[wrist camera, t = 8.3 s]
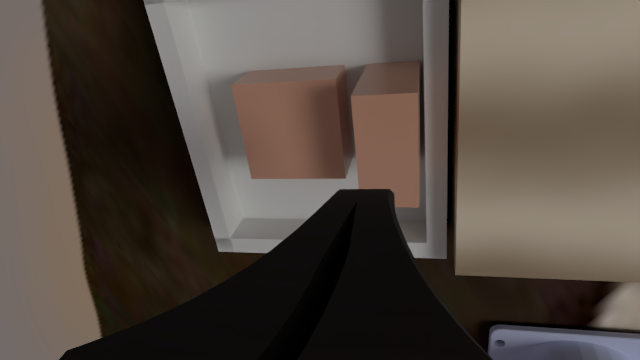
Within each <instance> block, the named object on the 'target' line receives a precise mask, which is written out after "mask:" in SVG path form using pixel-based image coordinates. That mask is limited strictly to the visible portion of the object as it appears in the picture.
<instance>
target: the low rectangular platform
mask: <svg viewBox="0 0 640 360" xmlns="http://www.w3.org/2000/svg"><path fill="white" fill-rule="evenodd" d="M451 232H452V243H453V254H454V265H455V275H471V276H495V277H520V278H544V279H569V280H593V281H618V282H640V0H454V53H453V119H452V185H451Z"/></svg>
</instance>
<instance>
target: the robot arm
mask: <svg viewBox="0 0 640 360" xmlns="http://www.w3.org/2000/svg"><path fill="white" fill-rule="evenodd" d="M497 340H502V341H497ZM59 360H640V334H634V333H619V332H604V331H589V330H574V329H559V328H544V327H529V326H515V325H494V326H492V327H491V328H490V330H489V342H488V354H487V353H486V351H485V350H484V349H483V348H482V347H481V346H480V345H479V344H478V343H477V342H476V341H475V340H474V339H473V338H472V337H471V335H470V334H469V333H468V332H467V331H466V329H465V328H464V327H463V326H462V325H461V324H460V322H459V321H458V320H457V319H456V318H455V316H454V315H453V314H452V313H451V312H450V311H449V309H448V308H447V307H446V306H445V304H444V303H443V301H442V300H441V299H440V297H439V296H438V295H437V293H436V292H435V290H434V289H433V288H432V286H431V284H430V283H429V281H428V280H427V278H426V277H425V275H424V274H423V272H422V270H421V269H420V267H419V265H418V263H417V262H416V260H415V258H414V256H413V254H412V252H411V250H410V248H409V246H408V244H407V242H406V240H405V237H404V235H403V232H402V230H401V227H400V225H399V222H398V219H397V216H396V212H395V197H394V193H393V192H392V191H391V190H390V189H339V190H338V191H337V192H336V193H335V194H334V195H333V196H332V197H331V198H330V199H329V200H328V201H327V202H325V203H324V204H323V205H322V206H321V207H320V208H319V209H318V210H317V211H316V212H315V213H314V214H313V215H312V216H311V217H310V218H309V219H307V220H306V221H305V222H304V223H303V224H302V225H301V226H300V227H299V228H298V229H296V230H295V231H294V232H293V233H292V234H290V235H289V236H288V237H287V238H285V239H284V240H283V241H282V242H280V243H279V244H278V245H277V246H276V247H274V248H273V249H272V250H271V251H269V252H268V253H267V254H265V255H264V256H263V257H261V258H260V259H258V260H257V261H256V262H254V263H253V264H251V265H250V266H248V267H247V268H245V269H244V270H242V271H241V272H239V273H237V274H236V275H234V276H233V277H231V278H229V279H228V280H226V281H224V282H222V283H221V284H219V285H217V286H215V287H213V288H212V289H210V290H208V291H206V292H204V293H203V294H201V295H199V296H197V297H195V298H194V299H192V300H190V301H188V302H186V303H184V304H181V305H179V306H177V307H175V308H173V309H171V310H169V311H167V312H165V313H162V314H160V315H158V316H156V317H153V318H151V319H149V320H147V321H144V322H142V323H139V324H137V325H135V326H132V327H130V328H127V329H125V330H122V331H119V332H117V333H114V334H111V335H108V336H106V337H103V338H100V339H98V340H95V341H92V342H90V343H87V344H84V345H82V346H79V347H76V348H73V349H70V350H67V351H66V352H65V353H64V355H63V356H62V357H61V358H60V359H59Z"/></svg>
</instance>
